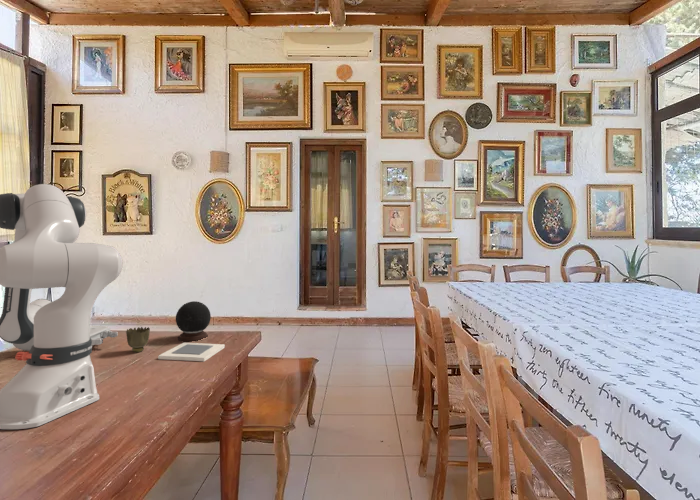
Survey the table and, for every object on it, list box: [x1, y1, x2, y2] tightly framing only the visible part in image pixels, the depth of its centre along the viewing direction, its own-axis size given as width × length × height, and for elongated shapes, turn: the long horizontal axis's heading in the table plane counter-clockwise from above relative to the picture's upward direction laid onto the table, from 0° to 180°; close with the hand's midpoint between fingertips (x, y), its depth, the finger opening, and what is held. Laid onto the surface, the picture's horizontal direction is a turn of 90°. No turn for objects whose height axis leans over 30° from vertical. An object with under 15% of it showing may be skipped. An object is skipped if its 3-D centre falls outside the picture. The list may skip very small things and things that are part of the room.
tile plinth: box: [157, 342, 226, 362], centre depth 131 cm, size 16×16×2 cm
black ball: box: [175, 300, 212, 343], centre depth 151 cm, size 13×13×15 cm
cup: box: [125, 326, 151, 353], centre depth 132 cm, size 8×7×8 cm
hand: (109, 337), depth 130 cm, fingers open, 8 cm apart
